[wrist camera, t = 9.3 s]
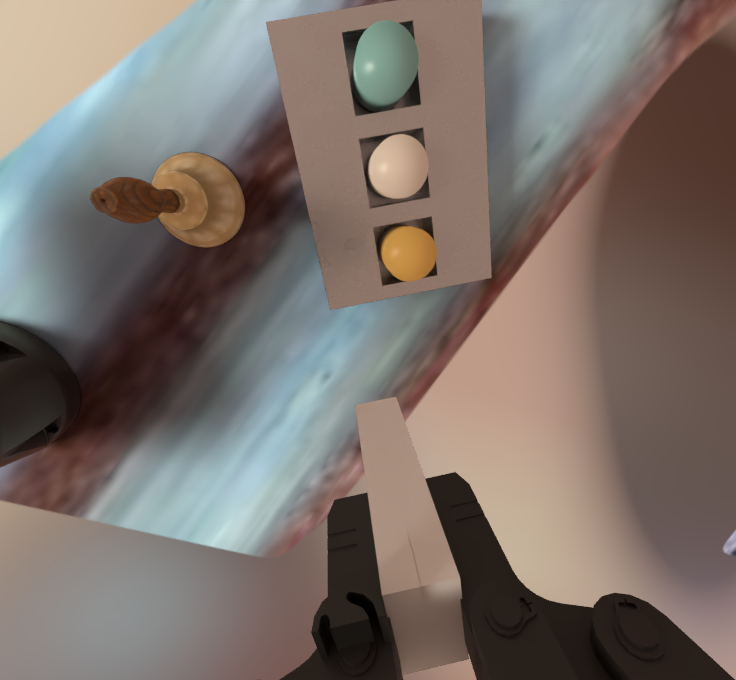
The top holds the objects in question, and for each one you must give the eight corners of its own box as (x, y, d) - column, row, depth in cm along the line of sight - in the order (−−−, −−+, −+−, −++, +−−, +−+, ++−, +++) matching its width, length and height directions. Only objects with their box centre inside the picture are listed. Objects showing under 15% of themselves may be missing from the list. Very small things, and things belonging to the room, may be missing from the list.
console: (329, 297, 38) (330, 309, 34) (274, 47, 29) (265, 22, 25) (473, 269, 38) (491, 277, 34) (459, 15, 30) (480, -14, 26)
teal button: (356, 116, 30) (361, 103, 26) (346, 51, 28) (349, 26, 24) (408, 107, 30) (421, 92, 26) (401, 41, 29) (414, 15, 25)
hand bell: (174, 131, 31) (37, 69, 16) (261, 189, 33) (209, 180, 19) (137, 214, 33) (-14, 226, 18) (221, 263, 35) (147, 308, 21)
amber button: (381, 275, 36) (389, 285, 31) (374, 229, 34) (381, 233, 30) (426, 267, 36) (439, 276, 32) (421, 220, 34) (434, 223, 30)
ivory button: (370, 202, 33) (376, 203, 29) (361, 147, 31) (367, 139, 27) (418, 193, 33) (431, 192, 29) (412, 138, 31) (425, 129, 27)
